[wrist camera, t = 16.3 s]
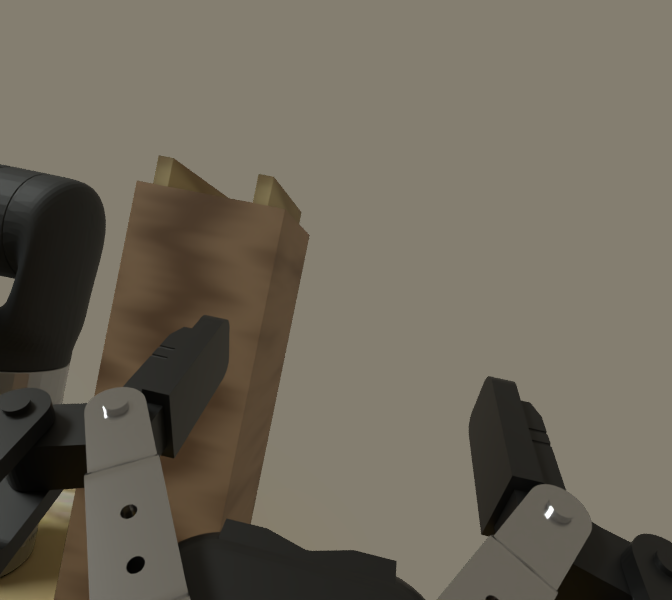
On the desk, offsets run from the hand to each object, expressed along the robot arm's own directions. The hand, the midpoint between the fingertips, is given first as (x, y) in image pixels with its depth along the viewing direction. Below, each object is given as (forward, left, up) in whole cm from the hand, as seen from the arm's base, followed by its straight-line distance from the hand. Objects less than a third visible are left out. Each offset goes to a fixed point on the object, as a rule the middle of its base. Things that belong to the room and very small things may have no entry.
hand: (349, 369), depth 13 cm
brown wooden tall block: (-9, +13, -26) cm, 31 cm away
